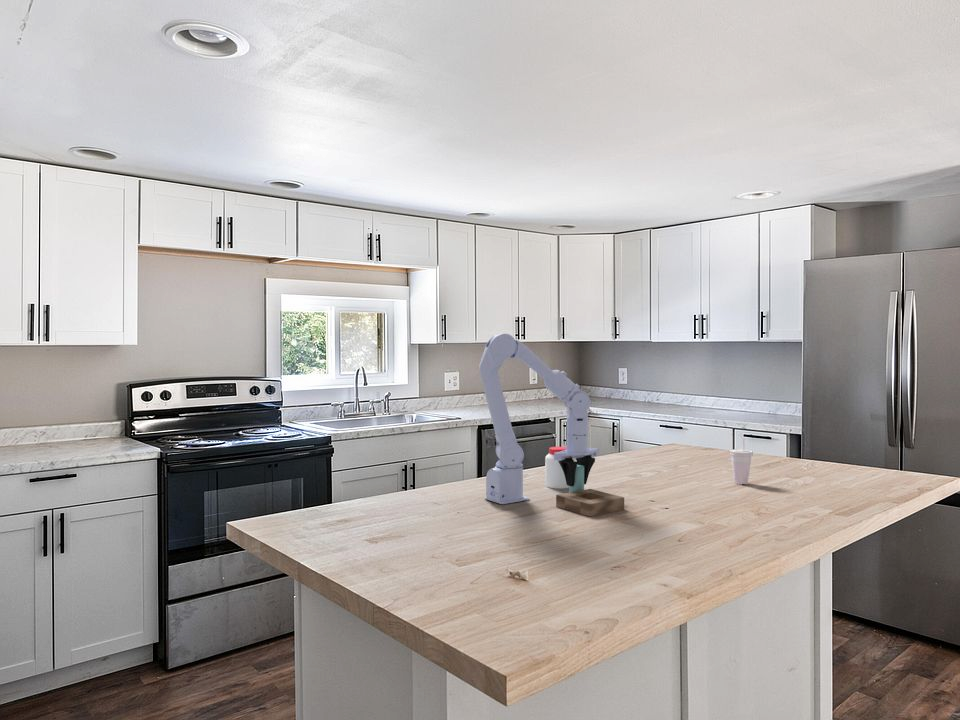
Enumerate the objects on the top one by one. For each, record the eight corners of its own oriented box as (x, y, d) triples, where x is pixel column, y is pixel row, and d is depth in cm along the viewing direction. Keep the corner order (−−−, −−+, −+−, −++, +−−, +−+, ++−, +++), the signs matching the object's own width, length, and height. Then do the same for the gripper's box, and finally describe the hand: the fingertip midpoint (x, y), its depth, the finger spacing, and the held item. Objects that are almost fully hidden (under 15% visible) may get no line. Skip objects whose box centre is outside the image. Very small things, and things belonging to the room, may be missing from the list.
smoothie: (756, 485, 195) (756, 437, 195) (733, 485, 195) (734, 437, 195) (747, 481, 201) (748, 434, 201) (726, 481, 201) (726, 434, 201)
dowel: (576, 494, 178) (576, 468, 177) (565, 491, 181) (566, 465, 181) (587, 492, 180) (587, 466, 180) (576, 489, 183) (577, 464, 183)
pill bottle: (563, 489, 190) (563, 451, 190) (540, 486, 195) (540, 448, 194) (576, 485, 196) (576, 447, 196) (553, 481, 201) (554, 445, 200)
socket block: (589, 516, 161) (589, 504, 161) (556, 506, 171) (556, 494, 171) (624, 509, 168) (624, 497, 168) (590, 500, 178) (590, 488, 178)
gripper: (567, 438, 172) (566, 490, 173) (607, 434, 181) (606, 484, 181) (549, 435, 178) (548, 485, 179) (588, 431, 187) (587, 479, 187)
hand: (576, 484), depth 180 cm, fingers closed on dowel, 4 cm apart
